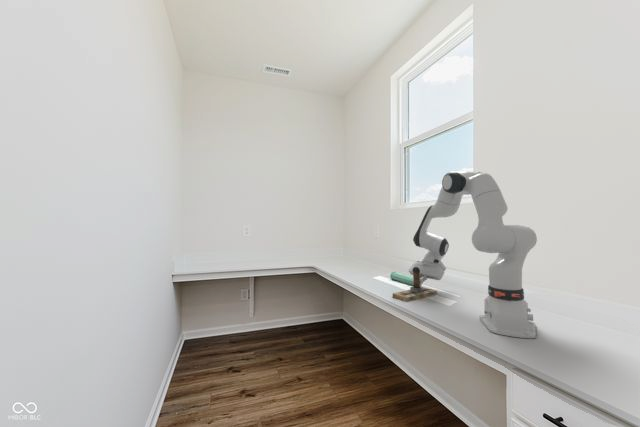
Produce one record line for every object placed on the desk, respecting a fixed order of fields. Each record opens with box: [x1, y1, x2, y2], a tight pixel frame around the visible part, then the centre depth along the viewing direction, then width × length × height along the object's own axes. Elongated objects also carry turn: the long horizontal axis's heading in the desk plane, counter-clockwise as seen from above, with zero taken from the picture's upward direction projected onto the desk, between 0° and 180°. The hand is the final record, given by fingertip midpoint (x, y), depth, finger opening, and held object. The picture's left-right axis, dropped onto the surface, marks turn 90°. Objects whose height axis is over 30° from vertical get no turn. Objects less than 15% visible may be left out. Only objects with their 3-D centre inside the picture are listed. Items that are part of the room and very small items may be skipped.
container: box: [389, 271, 423, 287], centre depth 183 cm, size 6×6×25 cm
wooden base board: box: [392, 286, 438, 303], centre depth 153 cm, size 24×10×2 cm, turn 121°
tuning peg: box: [409, 267, 425, 293], centre depth 152 cm, size 5×7×13 cm
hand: (419, 282), depth 155 cm, fingers closed, pressing on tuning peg
